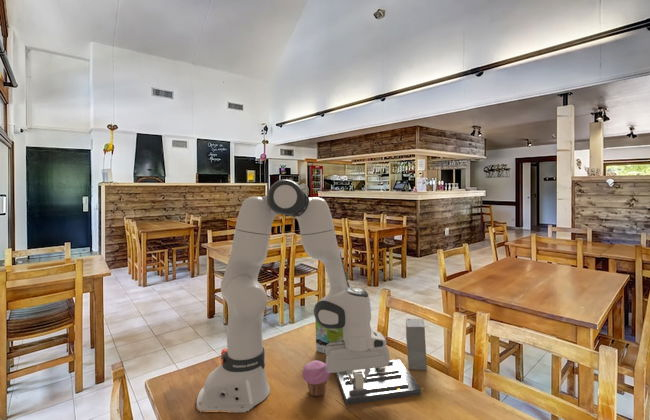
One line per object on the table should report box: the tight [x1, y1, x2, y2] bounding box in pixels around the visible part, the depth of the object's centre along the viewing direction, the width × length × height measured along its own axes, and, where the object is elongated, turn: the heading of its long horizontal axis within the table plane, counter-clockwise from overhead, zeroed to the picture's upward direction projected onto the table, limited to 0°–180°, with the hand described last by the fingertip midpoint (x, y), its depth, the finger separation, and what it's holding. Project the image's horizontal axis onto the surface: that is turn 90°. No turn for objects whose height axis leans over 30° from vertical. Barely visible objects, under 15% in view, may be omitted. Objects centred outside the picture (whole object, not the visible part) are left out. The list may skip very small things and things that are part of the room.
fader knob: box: [353, 370, 364, 390], centre depth 108 cm, size 2×4×5 cm, turn 9°
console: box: [335, 359, 422, 406], centre depth 114 cm, size 24×18×7 cm
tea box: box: [315, 320, 343, 354], centre depth 135 cm, size 15×10×15 cm, turn 55°
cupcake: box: [302, 359, 331, 397], centre depth 109 cm, size 9×9×10 cm
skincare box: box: [405, 318, 428, 371], centre depth 124 cm, size 8×7×16 cm
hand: (358, 381), depth 109 cm, fingers open, 3 cm apart
